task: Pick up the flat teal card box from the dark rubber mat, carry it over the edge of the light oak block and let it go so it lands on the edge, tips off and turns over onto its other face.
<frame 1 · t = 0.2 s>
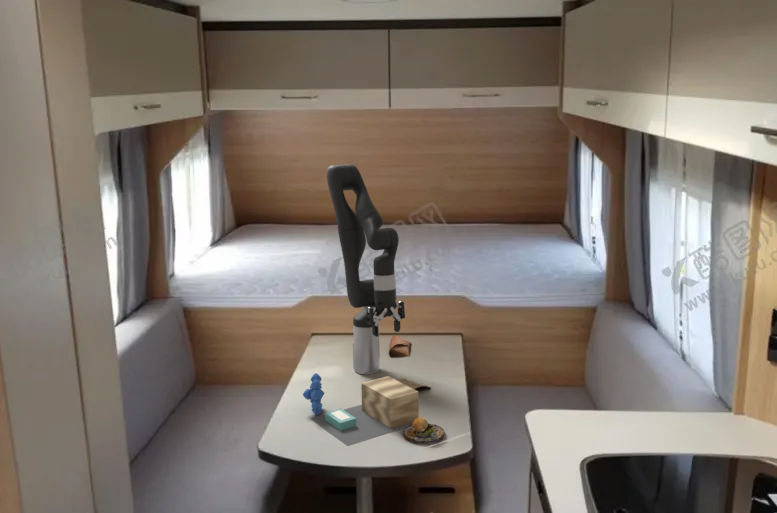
hand: (386, 333, 236), 17 cm above the table, tool pointing down, fingers open, 8 cm apart
oak block: (389, 415, 211), resting on mat
mat: (365, 421, 208), on the table
blue knobby sculpture: (314, 412, 215), on the table
card box: (340, 423, 206), resting on mat
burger: (423, 437, 197), on the table
clay tablet: (405, 392, 232), on the table
sunglasses case: (400, 351, 273), on the table
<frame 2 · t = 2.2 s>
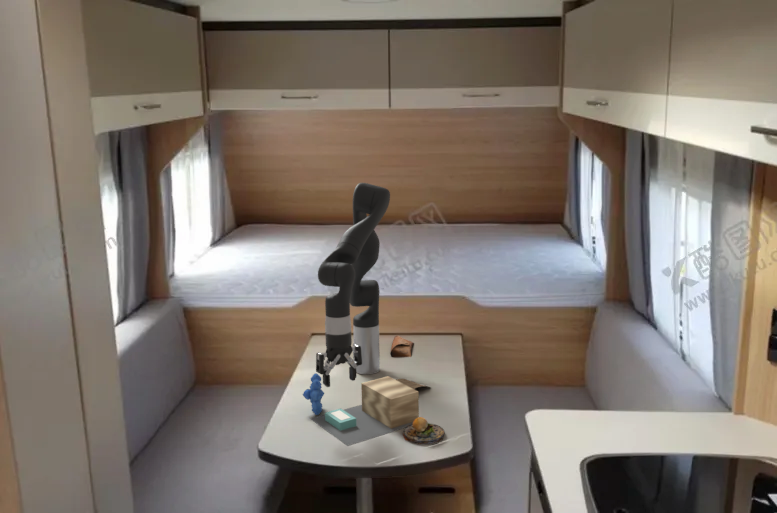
hand: (339, 383, 204), 13 cm above the table, tool pointing down, fingers open, 8 cm apart
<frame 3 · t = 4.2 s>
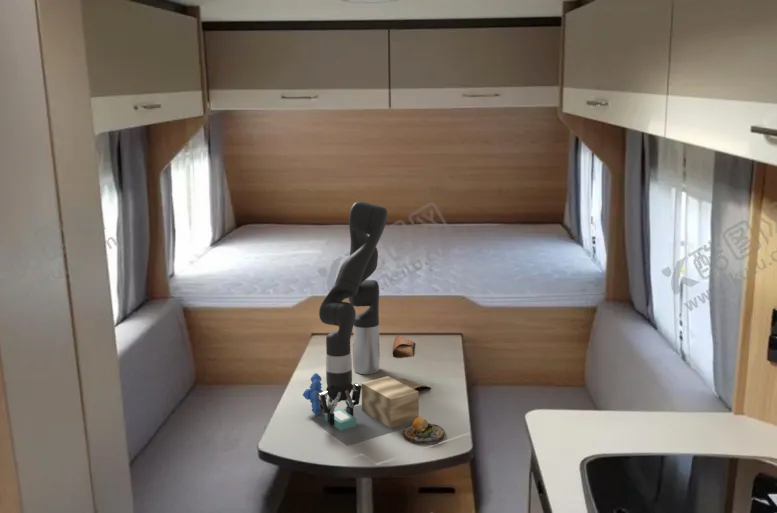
hand: (340, 421, 206), 1 cm above the table, tool pointing down, fingers closed on card box, 5 cm apart
card box: (340, 423, 206), resting on mat, touching gripper
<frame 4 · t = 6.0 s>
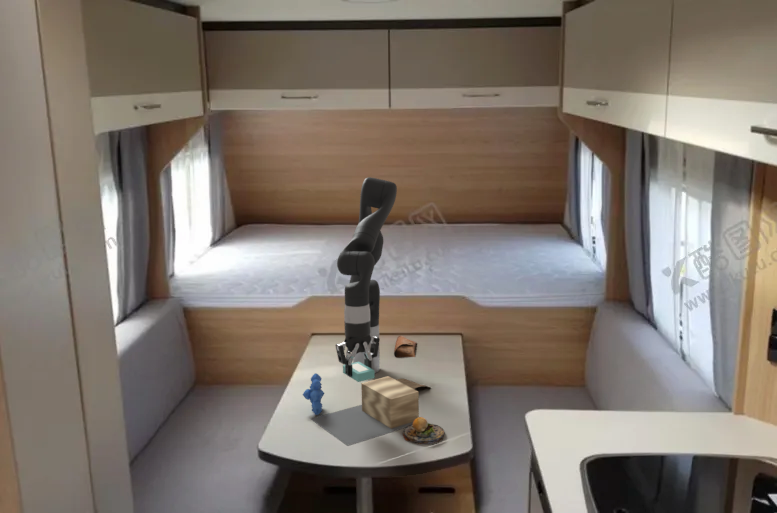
hand: (358, 373, 204), 15 cm above the table, tool pointing down, fingers closed on card box, 5 cm apart
card box: (358, 375, 205), point 15 cm above the table, touching gripper
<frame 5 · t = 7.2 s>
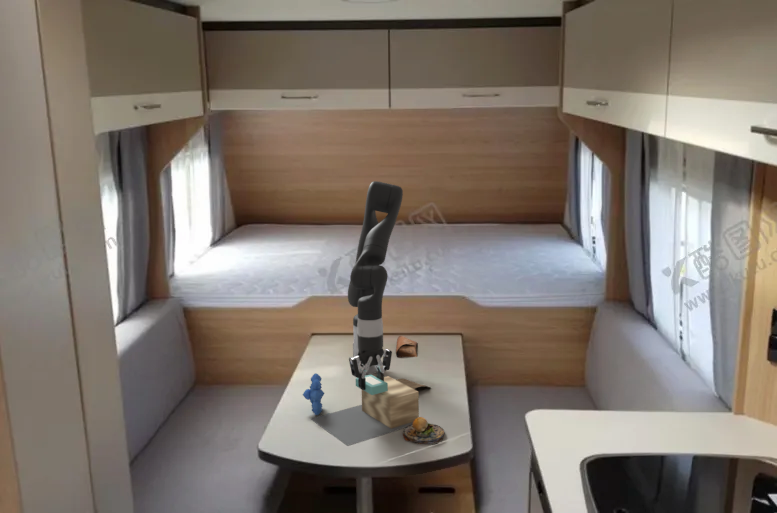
hand: (371, 386, 206), 11 cm above the table, tool pointing down, fingers closed on card box, 5 cm apart
card box: (371, 388, 206), point 10 cm above the table, touching gripper
when the fingers open (11 cm above the table, at t = 7.9 s): card box drops 8 cm and tips over, resting on mat.
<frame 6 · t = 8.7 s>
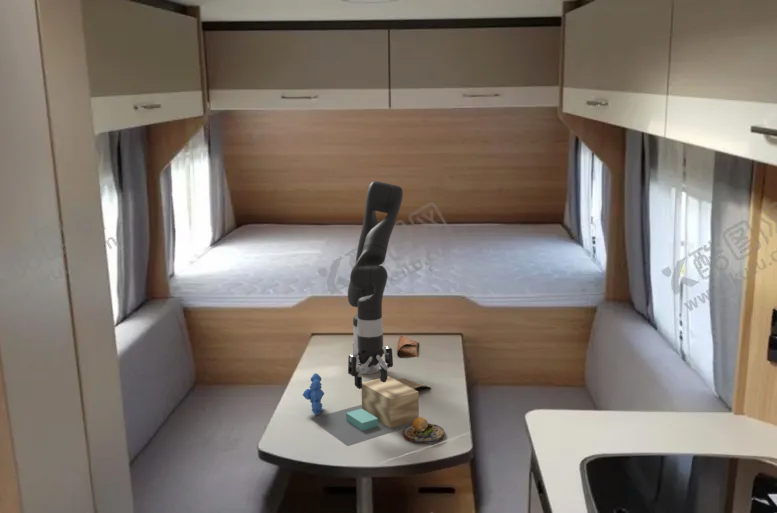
hand: (371, 384, 205), 12 cm above the table, tool pointing down, fingers open, 8 cm apart
card box: (361, 415, 205), point 3 cm above the table, tilted 180°, touching mat
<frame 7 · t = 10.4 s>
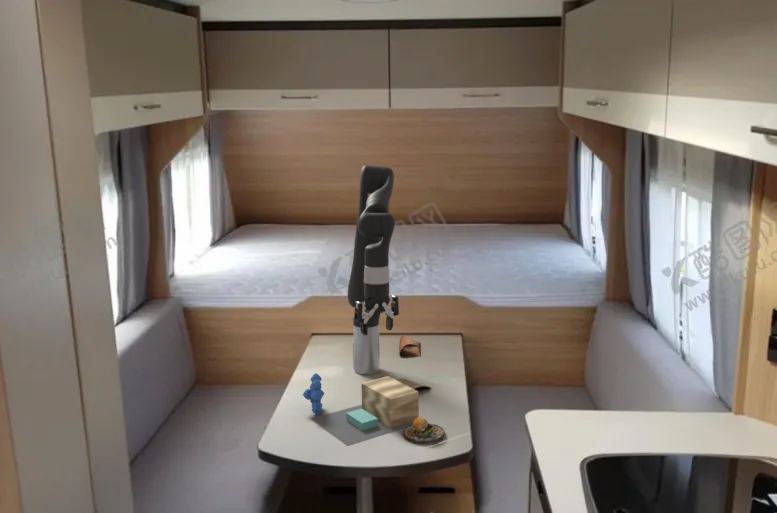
hand: (376, 332, 208), 26 cm above the table, tool pointing down, fingers open, 8 cm apart
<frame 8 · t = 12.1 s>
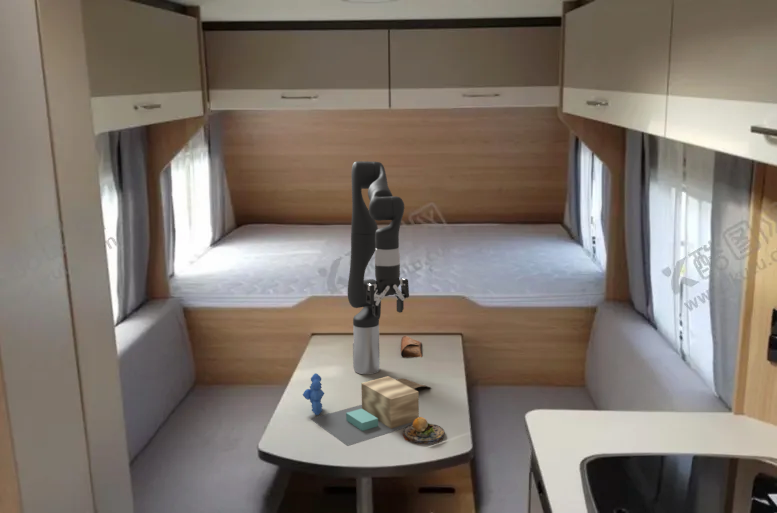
hand: (388, 314, 213), 30 cm above the table, tool pointing down, fingers open, 8 cm apart
at the end: card box tilted 180°; card box inside the target area (1.5 cm from its centre), point 2.8 cm above the table; the gripper is holding nothing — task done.
